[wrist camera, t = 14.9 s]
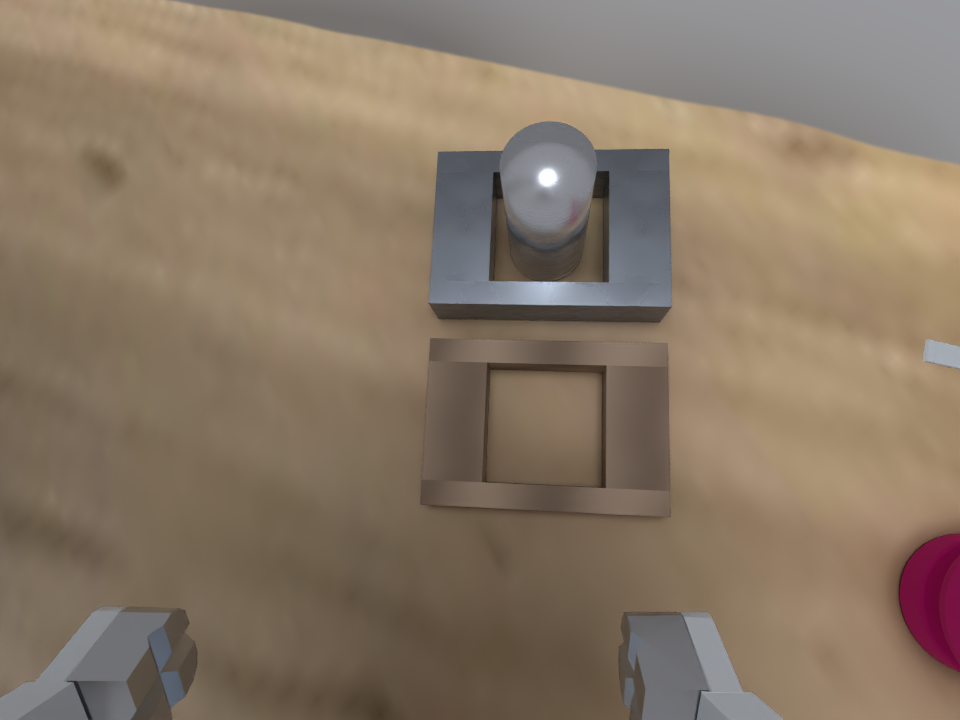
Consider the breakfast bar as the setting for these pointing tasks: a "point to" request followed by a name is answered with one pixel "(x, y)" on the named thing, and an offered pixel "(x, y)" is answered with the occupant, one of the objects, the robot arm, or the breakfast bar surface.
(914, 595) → the pepper mill
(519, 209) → the steel axle
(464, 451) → the wooden picture frame
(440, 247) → the socket block
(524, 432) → the breakfast bar surface
